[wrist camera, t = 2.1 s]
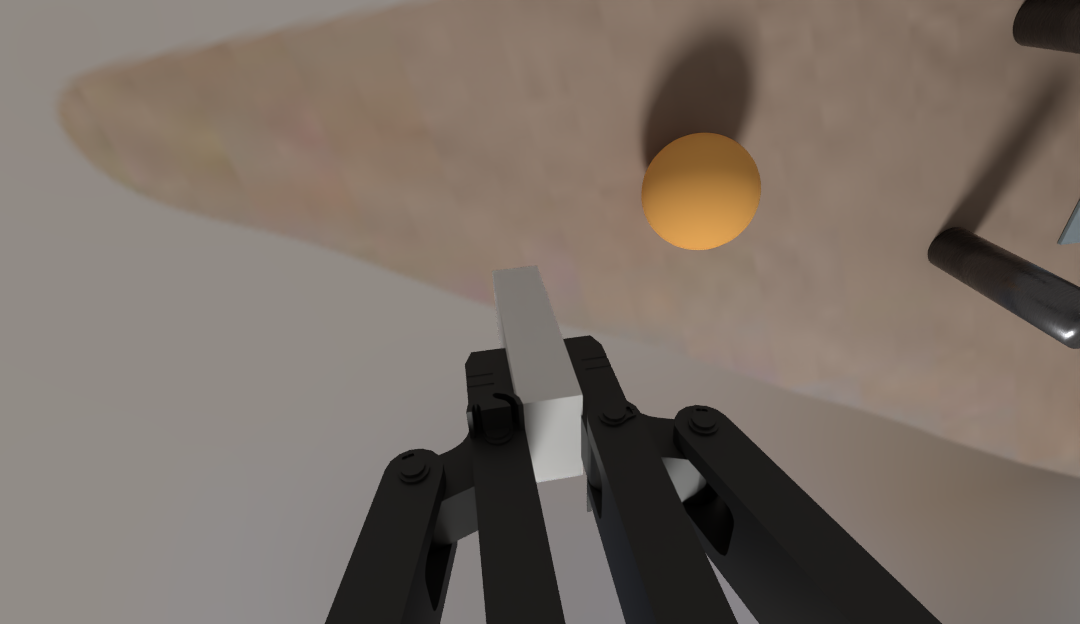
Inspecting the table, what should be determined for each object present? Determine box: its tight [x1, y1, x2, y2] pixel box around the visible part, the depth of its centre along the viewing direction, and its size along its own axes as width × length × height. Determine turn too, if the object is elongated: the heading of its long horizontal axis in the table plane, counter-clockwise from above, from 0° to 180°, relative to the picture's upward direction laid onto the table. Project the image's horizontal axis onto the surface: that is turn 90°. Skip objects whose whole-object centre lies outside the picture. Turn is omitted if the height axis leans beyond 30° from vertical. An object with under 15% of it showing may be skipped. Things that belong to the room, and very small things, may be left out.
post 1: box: [928, 227, 1080, 349], centre depth 30 cm, size 3×3×9 cm
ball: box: [642, 133, 761, 250], centre depth 27 cm, size 6×6×6 cm
